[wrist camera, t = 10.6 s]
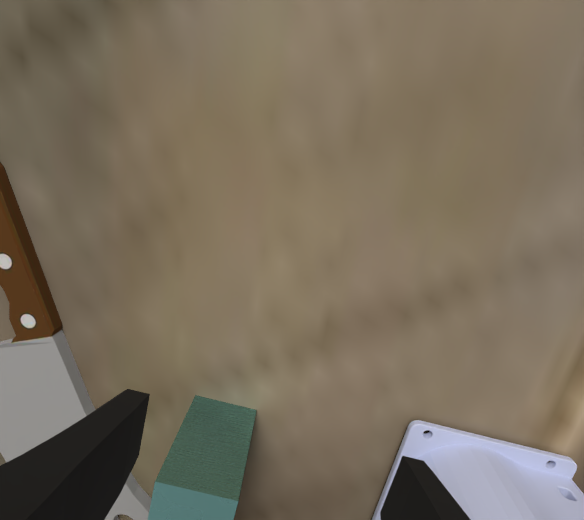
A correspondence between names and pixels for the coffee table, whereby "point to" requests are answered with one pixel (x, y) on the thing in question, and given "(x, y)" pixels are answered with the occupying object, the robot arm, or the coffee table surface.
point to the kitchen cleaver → (40, 357)
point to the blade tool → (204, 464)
